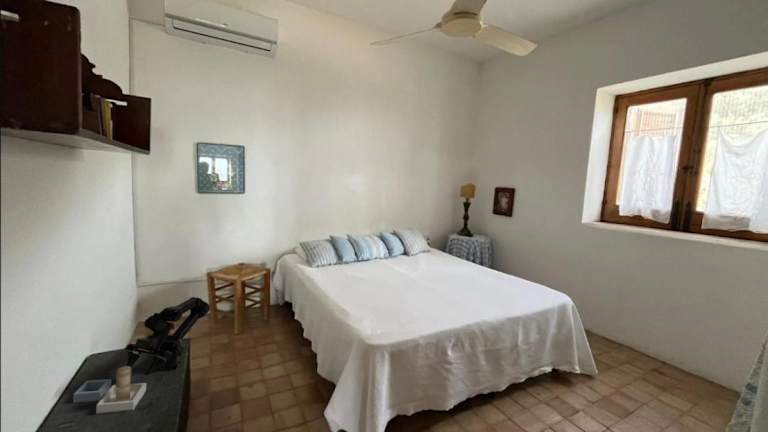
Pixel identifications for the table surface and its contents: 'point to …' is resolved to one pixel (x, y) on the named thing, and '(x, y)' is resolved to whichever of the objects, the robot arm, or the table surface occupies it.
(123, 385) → the birch dowel
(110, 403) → the tray
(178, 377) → the table surface
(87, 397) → the socket block
